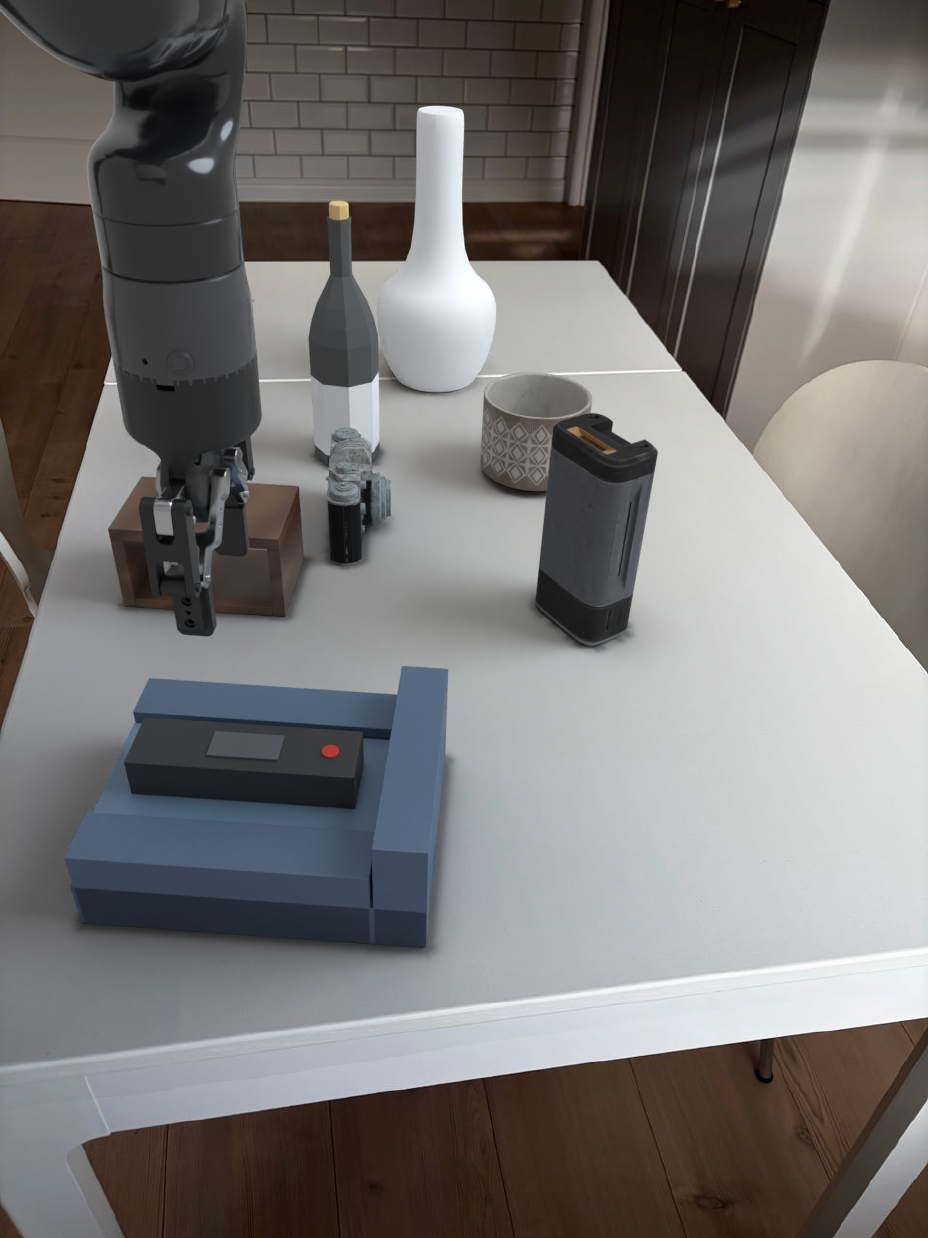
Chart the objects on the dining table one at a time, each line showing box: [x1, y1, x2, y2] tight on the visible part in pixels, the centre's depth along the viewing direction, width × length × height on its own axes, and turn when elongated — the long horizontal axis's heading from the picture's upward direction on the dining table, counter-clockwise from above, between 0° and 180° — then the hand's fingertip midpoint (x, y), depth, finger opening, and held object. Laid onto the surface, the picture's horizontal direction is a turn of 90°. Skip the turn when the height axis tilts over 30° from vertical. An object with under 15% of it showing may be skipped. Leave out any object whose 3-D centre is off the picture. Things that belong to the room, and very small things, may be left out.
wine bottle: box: [307, 200, 381, 467], centre depth 115 cm, size 8×8×30 cm
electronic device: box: [534, 412, 659, 647], centre depth 93 cm, size 9×6×20 cm, turn 34°
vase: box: [376, 105, 497, 393], centre depth 133 cm, size 17×17×35 cm
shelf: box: [107, 475, 305, 617], centre depth 98 cm, size 16×10×9 cm, turn 87°
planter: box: [479, 371, 593, 492], centre depth 119 cm, size 13×13×10 cm
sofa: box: [63, 665, 449, 948], centre depth 72 cm, size 24×18×10 cm
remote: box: [124, 717, 364, 809], centre depth 71 cm, size 16×5×3 cm, turn 87°
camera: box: [325, 428, 392, 566], centre depth 107 cm, size 15×7×10 cm, turn 4°
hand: (215, 590), depth 63 cm, fingers open, 8 cm apart
